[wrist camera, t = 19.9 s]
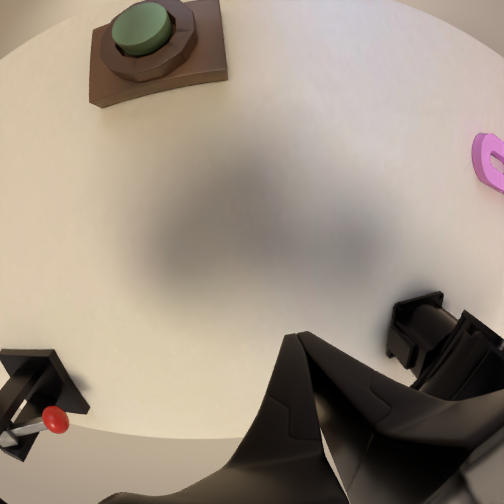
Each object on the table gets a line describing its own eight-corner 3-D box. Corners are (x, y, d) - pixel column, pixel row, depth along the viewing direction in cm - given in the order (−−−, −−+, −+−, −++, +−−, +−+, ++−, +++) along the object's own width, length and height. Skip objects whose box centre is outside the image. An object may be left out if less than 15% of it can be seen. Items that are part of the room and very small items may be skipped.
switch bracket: (54, 349, 22) (-2, 423, 10) (90, 407, 25) (57, 482, 13) (1, 349, 22) (-45, 401, 10) (33, 399, 24) (-1, 455, 13)
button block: (219, 11, 15) (217, -17, 11) (227, 80, 17) (226, 59, 13) (103, 39, 14) (82, 20, 11) (101, 108, 16) (76, 97, 13)
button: (171, 9, 12) (166, -4, 10) (173, 48, 13) (167, 36, 11) (121, 23, 12) (113, 12, 10) (120, 62, 13) (109, 53, 11)
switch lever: (58, 397, 19) (58, 415, 16) (73, 417, 19) (75, 435, 17) (-9, 416, 13) (-13, 433, 11) (7, 434, 14) (4, 451, 12)
